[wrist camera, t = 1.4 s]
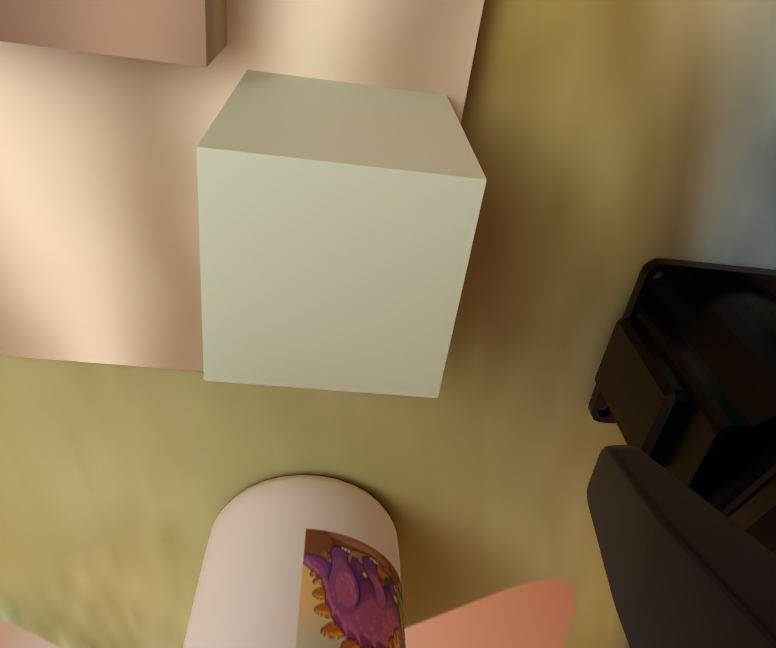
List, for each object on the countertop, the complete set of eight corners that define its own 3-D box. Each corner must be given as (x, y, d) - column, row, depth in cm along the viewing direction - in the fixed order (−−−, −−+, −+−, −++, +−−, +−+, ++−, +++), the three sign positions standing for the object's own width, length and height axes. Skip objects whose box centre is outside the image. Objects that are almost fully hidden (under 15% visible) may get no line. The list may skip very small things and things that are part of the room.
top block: (446, 95, 16) (486, 179, 11) (416, 267, 19) (437, 398, 14) (247, 69, 16) (196, 146, 11) (245, 251, 18) (203, 380, 13)
